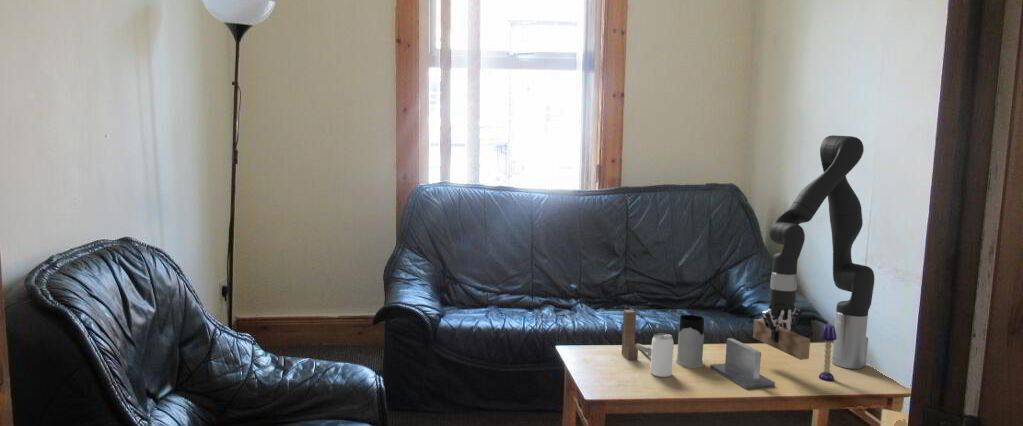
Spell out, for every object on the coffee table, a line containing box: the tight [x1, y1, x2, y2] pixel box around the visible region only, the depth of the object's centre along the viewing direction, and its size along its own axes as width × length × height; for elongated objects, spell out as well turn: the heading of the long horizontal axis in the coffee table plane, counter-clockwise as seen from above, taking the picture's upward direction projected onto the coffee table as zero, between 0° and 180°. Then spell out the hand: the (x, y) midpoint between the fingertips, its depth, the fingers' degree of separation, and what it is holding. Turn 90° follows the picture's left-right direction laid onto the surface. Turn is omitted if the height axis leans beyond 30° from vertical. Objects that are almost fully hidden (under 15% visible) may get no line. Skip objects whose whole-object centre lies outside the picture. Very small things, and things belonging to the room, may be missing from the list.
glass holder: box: [675, 314, 705, 369], centre depth 220 cm, size 9×14×15 cm, turn 157°
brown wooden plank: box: [752, 318, 811, 361], centre depth 209 cm, size 22×3×6 cm, turn 17°
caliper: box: [635, 343, 652, 357], centre depth 224 cm, size 20×1×6 cm, turn 7°
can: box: [649, 332, 675, 378], centre depth 206 cm, size 6×6×12 cm
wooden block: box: [621, 309, 639, 361], centre depth 222 cm, size 7×3×15 cm, turn 10°
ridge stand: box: [709, 337, 776, 390], centre depth 206 cm, size 10×18×10 cm, turn 17°
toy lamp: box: [818, 324, 837, 382], centre depth 206 cm, size 5×5×17 cm
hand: (779, 341), depth 209 cm, fingers closed on brown wooden plank, 3 cm apart
